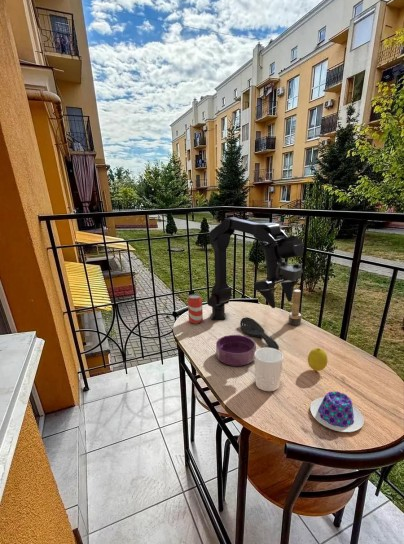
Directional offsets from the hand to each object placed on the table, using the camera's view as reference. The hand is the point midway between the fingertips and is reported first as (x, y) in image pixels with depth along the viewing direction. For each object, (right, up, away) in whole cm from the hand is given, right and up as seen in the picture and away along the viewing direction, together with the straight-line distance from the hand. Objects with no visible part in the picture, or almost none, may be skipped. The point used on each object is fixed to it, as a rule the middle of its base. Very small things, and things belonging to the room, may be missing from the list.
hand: (281, 304), depth 98 cm
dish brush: (+11, -8, +21) cm, 26 cm away
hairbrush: (-6, -13, +11) cm, 18 cm away
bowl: (-16, -18, -2) cm, 24 cm away
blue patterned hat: (+5, -27, -29) cm, 40 cm away
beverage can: (-31, -8, +27) cm, 42 cm away
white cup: (-9, -23, -16) cm, 30 cm away
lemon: (+7, -21, -11) cm, 25 cm away
